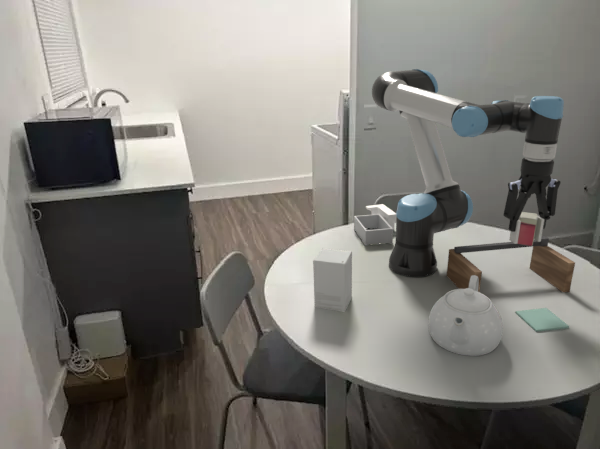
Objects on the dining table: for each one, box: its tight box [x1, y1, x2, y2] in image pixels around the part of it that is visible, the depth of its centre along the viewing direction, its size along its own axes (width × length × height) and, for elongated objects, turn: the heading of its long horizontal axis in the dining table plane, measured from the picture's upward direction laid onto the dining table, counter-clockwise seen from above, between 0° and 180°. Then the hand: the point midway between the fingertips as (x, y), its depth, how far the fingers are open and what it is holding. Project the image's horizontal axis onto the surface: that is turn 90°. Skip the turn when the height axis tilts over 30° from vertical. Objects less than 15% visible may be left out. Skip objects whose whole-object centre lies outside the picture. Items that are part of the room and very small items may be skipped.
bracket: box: [365, 203, 397, 231], centre depth 186 cm, size 13×7×8 cm
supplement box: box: [312, 247, 353, 313], centre depth 130 cm, size 9×9×15 cm
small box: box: [517, 211, 539, 247], centre depth 127 cm, size 5×4×8 cm
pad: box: [514, 307, 570, 332], centre depth 121 cm, size 9×9×1 cm
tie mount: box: [446, 245, 576, 293], centre depth 138 cm, size 30×16×9 cm, turn 99°
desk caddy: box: [353, 214, 394, 246], centre depth 176 cm, size 10×16×6 cm, turn 9°
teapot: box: [427, 275, 504, 357], centre depth 113 cm, size 19×18×14 cm
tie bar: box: [453, 235, 550, 254], centre depth 141 cm, size 29×2×2 cm, turn 99°
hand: (524, 240), depth 129 cm, fingers closed on small box, 6 cm apart
